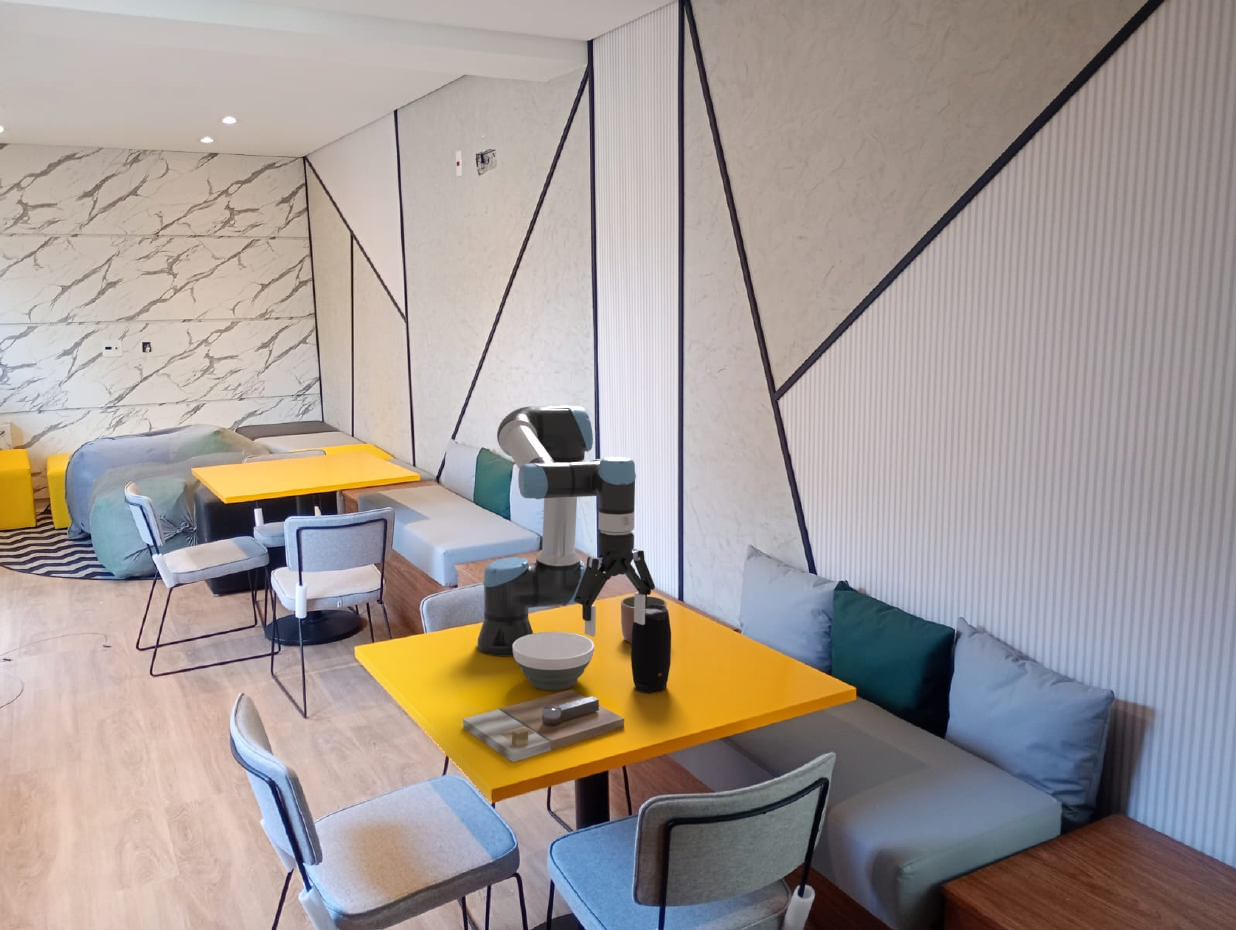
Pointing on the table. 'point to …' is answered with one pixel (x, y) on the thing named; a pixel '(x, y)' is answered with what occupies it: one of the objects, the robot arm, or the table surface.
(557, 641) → the bowl
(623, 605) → the planter
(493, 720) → the board
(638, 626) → the portable speaker
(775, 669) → the table surface
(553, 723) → the door lever handle
